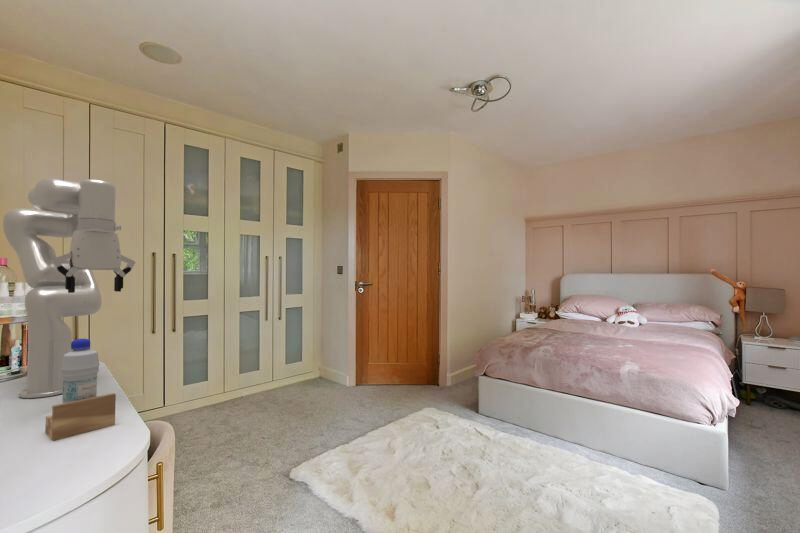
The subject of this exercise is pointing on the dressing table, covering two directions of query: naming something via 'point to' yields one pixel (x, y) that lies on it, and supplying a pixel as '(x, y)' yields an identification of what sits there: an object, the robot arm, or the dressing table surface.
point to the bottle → (80, 372)
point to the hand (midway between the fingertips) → (95, 291)
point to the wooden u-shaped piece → (80, 416)
